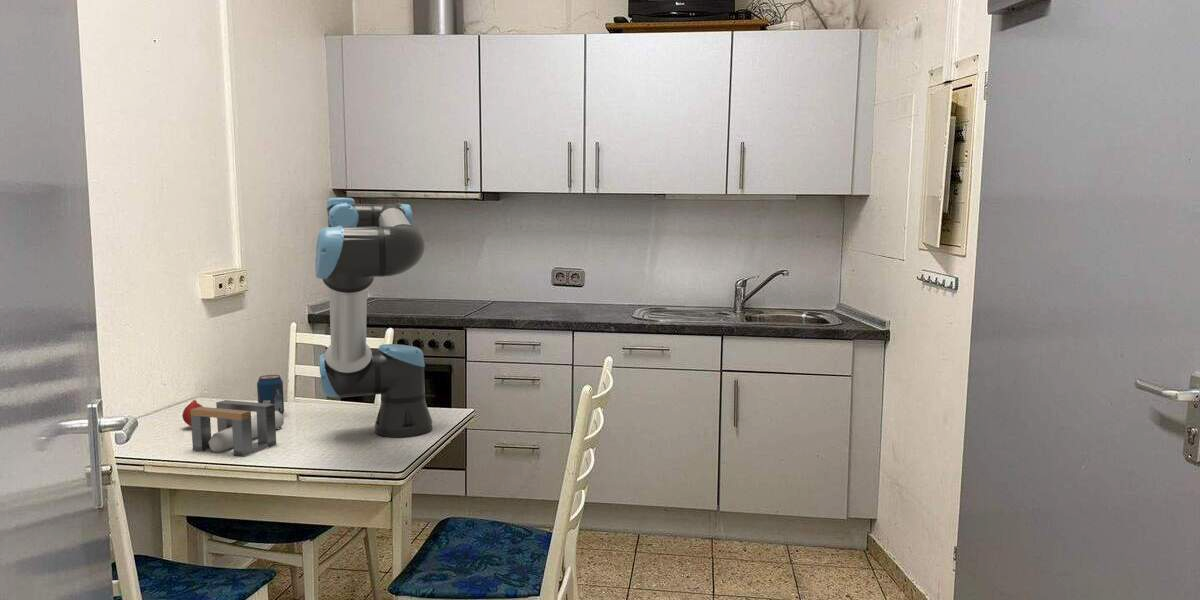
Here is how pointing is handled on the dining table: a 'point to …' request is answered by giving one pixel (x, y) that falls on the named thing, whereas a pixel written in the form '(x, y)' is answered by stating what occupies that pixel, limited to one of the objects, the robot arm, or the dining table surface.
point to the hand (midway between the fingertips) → (346, 334)
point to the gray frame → (235, 425)
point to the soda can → (271, 391)
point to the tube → (225, 438)
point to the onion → (189, 412)
